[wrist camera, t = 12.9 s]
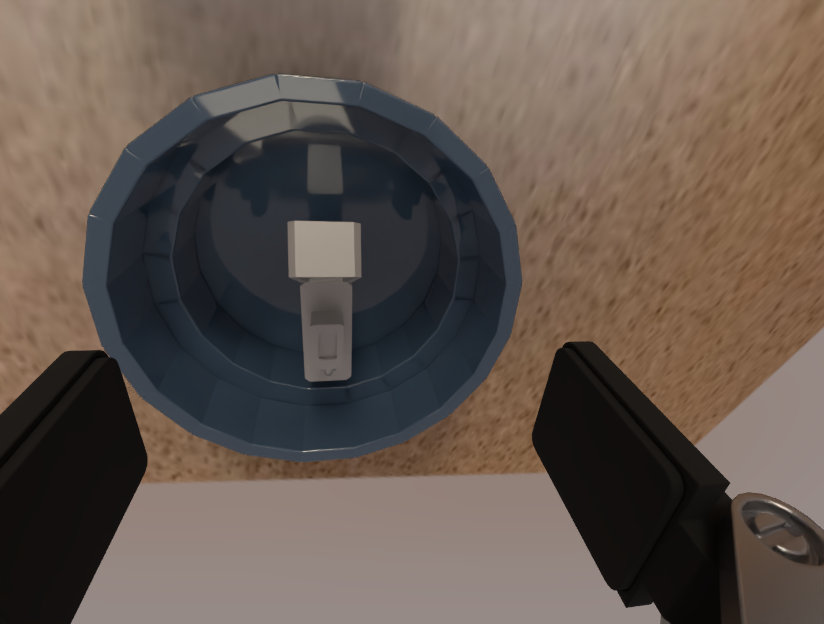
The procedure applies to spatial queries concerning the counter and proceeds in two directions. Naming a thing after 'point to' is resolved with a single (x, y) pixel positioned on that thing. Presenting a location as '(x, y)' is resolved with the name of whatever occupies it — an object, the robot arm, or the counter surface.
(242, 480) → the counter surface
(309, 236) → the lighter
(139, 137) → the bowl
